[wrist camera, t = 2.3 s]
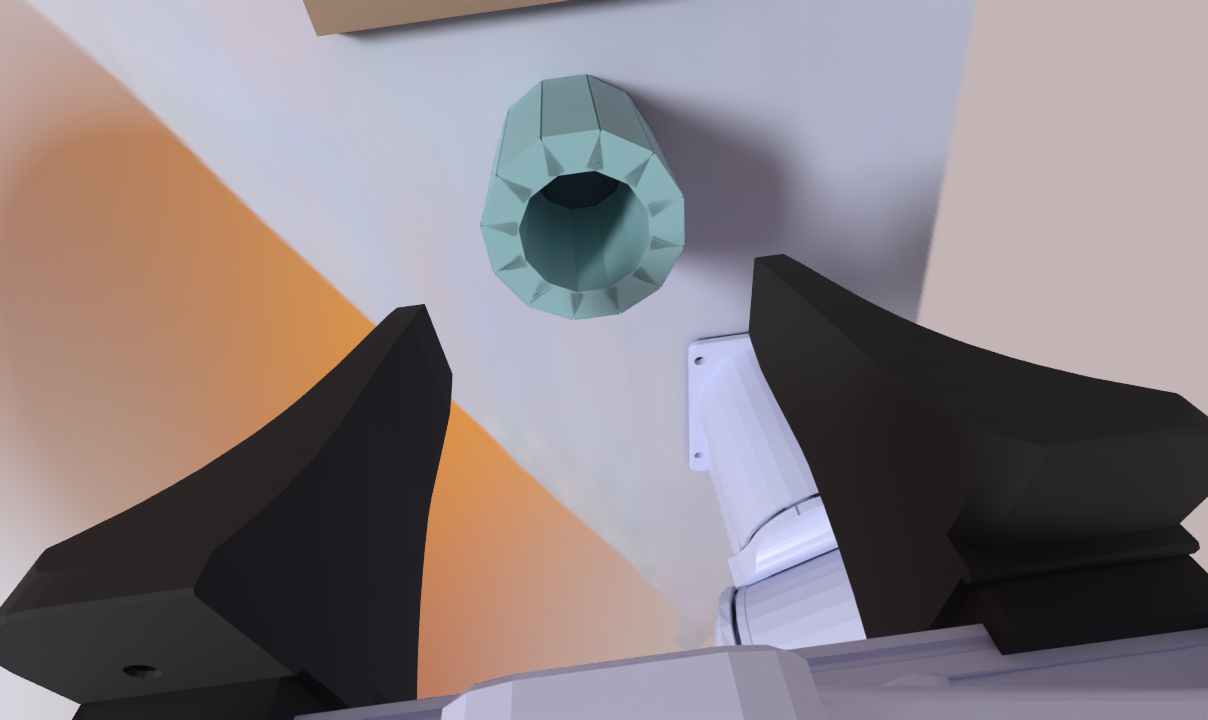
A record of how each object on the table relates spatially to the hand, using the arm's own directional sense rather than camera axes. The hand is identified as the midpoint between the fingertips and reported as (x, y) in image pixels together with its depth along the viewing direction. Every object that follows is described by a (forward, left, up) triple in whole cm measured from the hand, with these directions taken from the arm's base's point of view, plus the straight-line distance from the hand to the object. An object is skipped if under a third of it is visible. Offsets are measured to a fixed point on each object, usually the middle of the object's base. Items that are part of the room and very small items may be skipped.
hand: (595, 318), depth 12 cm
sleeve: (0, 0, -10) cm, 10 cm away
